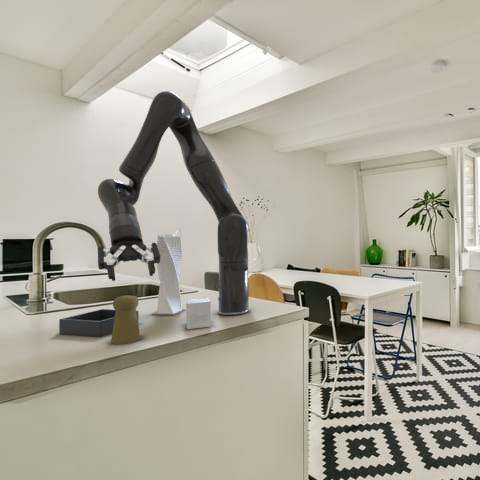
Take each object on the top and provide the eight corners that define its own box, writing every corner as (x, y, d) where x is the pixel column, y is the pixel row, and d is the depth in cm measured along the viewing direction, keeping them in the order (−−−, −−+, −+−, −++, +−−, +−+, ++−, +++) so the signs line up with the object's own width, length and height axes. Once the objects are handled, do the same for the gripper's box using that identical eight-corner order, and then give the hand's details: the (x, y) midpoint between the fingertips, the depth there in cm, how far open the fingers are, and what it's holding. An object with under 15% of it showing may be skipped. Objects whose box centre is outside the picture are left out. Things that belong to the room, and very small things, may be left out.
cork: (125, 345, 79) (125, 298, 79) (104, 343, 80) (104, 297, 80) (146, 337, 85) (146, 294, 84) (126, 335, 86) (126, 293, 86)
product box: (210, 327, 94) (210, 301, 94) (186, 329, 92) (186, 303, 91) (209, 322, 100) (209, 297, 100) (186, 324, 97) (186, 299, 97)
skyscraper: (188, 310, 115) (188, 229, 114) (176, 316, 107) (176, 228, 106) (164, 310, 115) (164, 229, 114) (149, 315, 106) (149, 228, 106)
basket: (102, 322, 99) (102, 308, 99) (138, 324, 97) (138, 310, 97) (59, 334, 87) (59, 319, 87) (99, 336, 85) (99, 321, 85)
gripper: (93, 224, 91) (99, 272, 83) (154, 222, 100) (164, 265, 92) (95, 242, 95) (100, 289, 88) (153, 238, 104) (162, 280, 97)
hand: (133, 276), depth 90 cm, fingers open, 8 cm apart
